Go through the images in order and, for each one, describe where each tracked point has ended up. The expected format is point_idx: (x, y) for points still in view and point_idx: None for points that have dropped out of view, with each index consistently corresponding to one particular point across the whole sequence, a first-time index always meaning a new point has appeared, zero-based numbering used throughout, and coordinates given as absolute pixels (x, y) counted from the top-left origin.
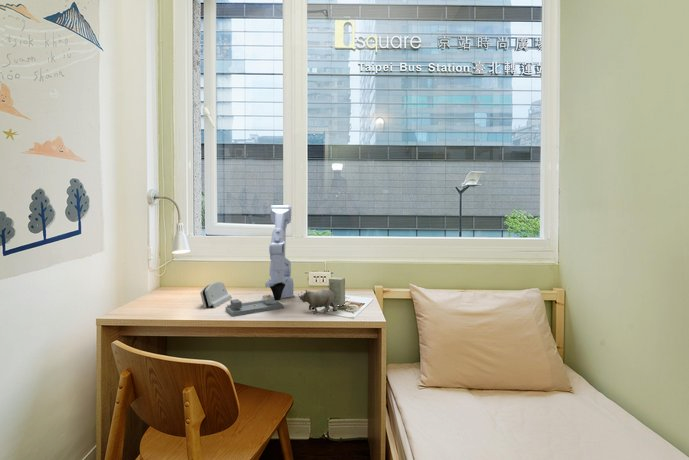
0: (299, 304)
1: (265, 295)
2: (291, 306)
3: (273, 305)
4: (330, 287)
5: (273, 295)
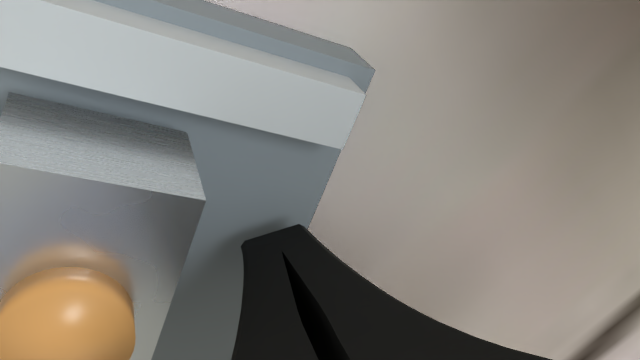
0: (482, 335)
1: (71, 200)
2: None
3: None
4: None
5: (242, 301)
